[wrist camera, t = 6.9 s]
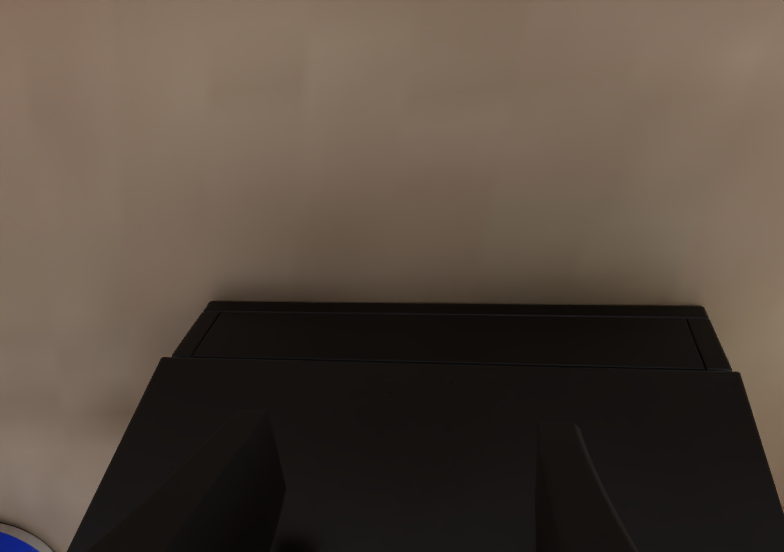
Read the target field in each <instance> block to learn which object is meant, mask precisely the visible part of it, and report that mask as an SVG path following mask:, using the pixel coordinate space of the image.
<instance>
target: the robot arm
mask: <svg viewBox="0 0 784 552" xmlns="http://www.w3.org/2000/svg"><path fill="white" fill-rule="evenodd" d="M285 492H286V485H285V480H284V476H283V472H282V467H281V463H280V459H279V454H278V450H277V446H276V441H275V437H274V433H273V428H272V424H271V420H270V415H269V411H258V410H237V411H236V412H235V413H234V414H233V415H232V416H231V417H230V418H229V419H228V420H227V421H226V422H224V423H223V424H222V425H221V426H220V427H219V428H218V429H217V430H216V431H215V432H214V433H213V434H212V435H211V437H210V438H209V439H208V440H207V441H206V442H205V443H204V444H203V445H202V446H201V447H200V448H199V449H198V450H197V451H196V452H195V453H194V454H193V455H192V456H191V457H190V458H189V459H188V460H187V461H186V462H185V463H184V464H183V465H182V466H181V467H180V468H179V469H177V470H176V471H175V472H174V473H173V474H172V475H171V476H170V477H169V478H168V479H167V480H166V481H165V482H164V483H163V484H162V485H161V486H160V487H159V488H158V489H157V490H156V491H155V492H154V493H153V494H152V495H150V496H149V497H148V498H147V499H146V500H145V501H144V502H143V503H142V504H141V505H140V506H138V507H137V508H136V509H135V510H134V511H133V512H132V513H131V514H129V515H128V516H127V517H126V518H125V519H124V520H123V521H122V522H120V523H119V524H118V525H117V526H116V527H115V528H114V529H113V530H111V531H110V532H109V533H108V534H107V535H106V536H104V537H103V538H102V539H101V540H100V541H98V542H97V543H96V544H95V545H93V546H92V547H91V548H90V549H88V550H87V551H86V552H270V549H271V546H272V544H273V541H274V537H275V533H276V529H277V526H278V522H279V518H280V514H281V509H282V505H283V501H284V497H285ZM535 523H536V552H638V550H637V548H636V547H635V545H634V543H633V541H632V540H631V538H630V536H629V534H628V533H627V531H626V529H625V527H624V525H623V523H622V522H621V520H620V518H619V516H618V514H617V512H616V510H615V509H614V507H613V505H612V503H611V501H610V499H609V497H608V495H607V493H606V491H605V489H604V487H603V485H602V483H601V481H600V479H599V476H598V474H597V472H596V470H595V468H594V465H593V463H592V461H591V458H590V456H589V453H588V451H587V448H586V445H585V443H584V440H583V437H582V434H581V430H580V428H579V427H578V426H577V425H575V424H574V423H558V422H538V428H537V459H536V490H535Z"/></svg>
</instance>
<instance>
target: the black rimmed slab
mask: <svg viewBox="0 0 784 552" xmlns="http://www.w3.org/2000/svg"><path fill="white" fill-rule="evenodd" d="M172 357H178V358H217V359H257V360H296V361H335V362H374V363H414V364H453V365H492V366H532V367H571V368H610V369H650V370H689V371H728V372H732V369H731V366H730V364H729V362H728V360H727V357H726V355H725V353H724V351H723V349H722V346H721V344H720V342H719V340H718V337H717V335H716V333H715V331H714V329H713V326H712V324H711V322H710V320H709V318H708V316H707V313H706V311H705V309H704V307H701V306H603V305H505V304H407V303H310V302H209V304H208V305H207V307H206V308H205V310H204V312H203V313H202V314H201V315H200V316H199V318H198V319H197V321H196V322H195V323H194V325H193V326H192V328H191V329H190V330H189V332H188V333H187V335H186V336H185V337H184V339H183V340H182V342H181V343H180V344H179V346H178V347H177V349H176V350H175V351H174V353H173V354H172Z"/></svg>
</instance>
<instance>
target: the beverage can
mask: <svg viewBox="0 0 784 552" xmlns="http://www.w3.org/2000/svg"><path fill="white" fill-rule="evenodd" d="M0 552H53V551H52V550H51V549H50V548H49V547H48V546H47V545H46V544H45V543H44V542H42V541H41V540H40V539H38V538H36V537H35V536H33V535H31V534H30V533H28V532H26V531H23V530H21V529H19V528H16V527H13V526H10V525H5V524H0Z"/></svg>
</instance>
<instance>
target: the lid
mask: <svg viewBox="0 0 784 552" xmlns="http://www.w3.org/2000/svg"><path fill="white" fill-rule="evenodd" d="M237 410H258V411H269V415H270V420H271V424H272V428H273V433H274V437H275V441H276V446H277V450H278V454H279V459H280V463H281V467H282V472H283V476H284V480H285V485H286V492H285V497H284V501H283V505H282V509H281V514H280V518H279V522H278V526H277V529H276V533H275V537H274V541H273V544H272V546H271V549H270V552H536V523H535V490H536V459H537V428H538V422H558V423H574V424H575V425H577V426H578V427H579V428H580V430H581V434H582V437H583V440H584V443H585V445H586V448H587V451H588V453H589V456H590V458H591V461H592V463H593V465H594V468H595V470H596V472H597V474H598V476H599V479H600V481H601V483H602V485H603V487H604V489H605V491H606V493H607V495H608V497H609V499H610V501H611V503H612V505H613V507H614V509H615V510H616V512H617V514H618V516H619V518H620V520H621V522H622V523H623V525H624V527H625V529H626V531H627V533H628V534H629V536H630V538H631V540H632V541H633V543H634V545H635V547H636V548H637V550H638V552H784V513H783V510H782V507H781V503H780V500H779V497H778V494H777V491H776V487H775V484H774V481H773V478H772V474H771V471H770V468H769V465H768V462H767V458H766V455H765V452H764V449H763V446H762V442H761V439H760V436H759V433H758V429H757V426H756V423H755V420H754V417H753V413H752V410H751V407H750V404H749V401H748V397H747V394H746V391H745V388H744V384H743V381H742V378H741V375H740V373H739V372H728V371H689V370H650V369H610V368H571V367H532V366H492V365H453V364H414V363H374V362H335V361H296V360H257V359H217V358H178V357H162V358H161V359H160V362H159V364H158V366H157V368H156V370H155V372H154V374H153V376H152V378H151V380H150V382H149V384H148V386H147V388H146V390H145V392H144V394H143V396H142V398H141V401H140V403H139V405H138V407H137V409H136V411H135V413H134V415H133V417H132V419H131V421H130V423H129V425H128V427H127V429H126V431H125V433H124V435H123V437H122V440H121V442H120V444H119V446H118V448H117V450H116V452H115V454H114V456H113V458H112V460H111V462H110V464H109V466H108V468H107V470H106V472H105V474H104V477H103V479H102V481H101V483H100V485H99V487H98V489H97V491H96V493H95V495H94V497H93V499H92V501H91V503H90V505H89V507H88V509H87V511H86V513H85V516H84V518H83V520H82V522H81V524H80V526H79V528H78V530H77V532H76V534H75V536H74V538H73V540H72V542H71V544H70V546H69V548H68V550H67V552H86V551H87V550H88V549H90V548H91V547H92V546H93V545H95V544H96V543H97V542H98V541H100V540H101V539H102V538H103V537H104V536H106V535H107V534H108V533H109V532H110V531H111V530H113V529H114V528H115V527H116V526H117V525H118V524H119V523H120V522H122V521H123V520H124V519H125V518H126V517H127V516H128V515H129V514H131V513H132V512H133V511H134V510H135V509H136V508H137V507H138V506H140V505H141V504H142V503H143V502H144V501H145V500H146V499H147V498H148V497H149V496H150V495H152V494H153V493H154V492H155V491H156V490H157V489H158V488H159V487H160V486H161V485H162V484H163V483H164V482H165V481H166V480H167V479H168V478H169V477H170V476H171V475H172V474H173V473H174V472H175V471H176V470H177V469H179V468H180V467H181V466H182V465H183V464H184V463H185V462H186V461H187V460H188V459H189V458H190V457H191V456H192V455H193V454H194V453H195V452H196V451H197V450H198V449H199V448H200V447H201V446H202V445H203V444H204V443H205V442H206V441H207V440H208V439H209V438H210V437H211V435H212V434H213V433H214V432H215V431H216V430H217V429H218V428H219V427H220V426H221V425H222V424H223V423H224V422H226V421H227V420H228V419H229V418H230V417H231V416H232V415H233V414H234V413H235V412H236V411H237Z"/></svg>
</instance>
